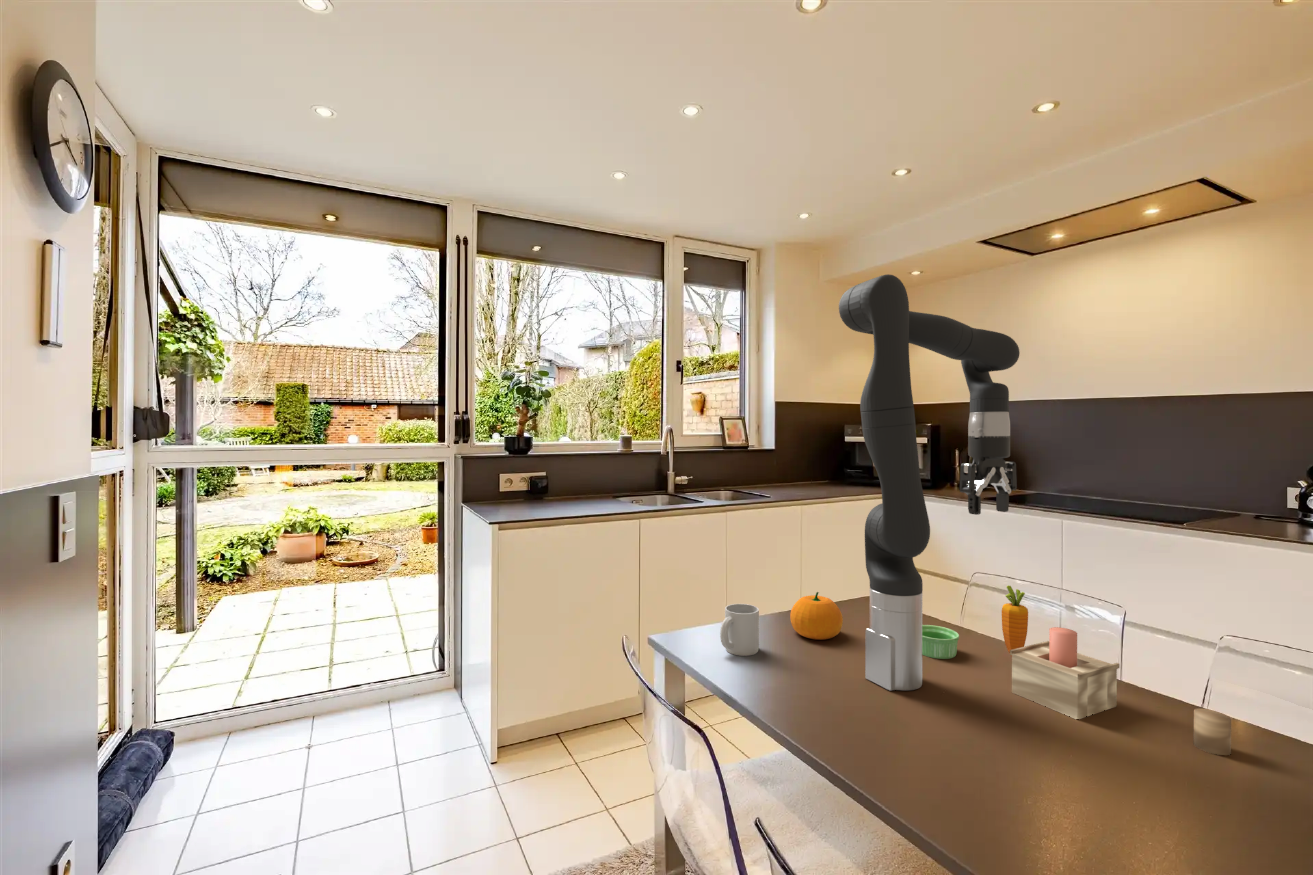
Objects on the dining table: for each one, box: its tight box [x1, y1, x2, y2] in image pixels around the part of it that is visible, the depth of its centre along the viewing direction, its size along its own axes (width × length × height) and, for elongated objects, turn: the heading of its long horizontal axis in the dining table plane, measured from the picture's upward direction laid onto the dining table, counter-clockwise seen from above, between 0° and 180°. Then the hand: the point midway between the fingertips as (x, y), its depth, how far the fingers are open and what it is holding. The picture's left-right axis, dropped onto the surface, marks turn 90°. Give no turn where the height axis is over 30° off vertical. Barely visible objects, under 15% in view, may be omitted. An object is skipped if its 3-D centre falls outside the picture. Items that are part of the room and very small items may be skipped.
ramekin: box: [922, 624, 960, 660], centre depth 124 cm, size 9×9×4 cm
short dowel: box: [1193, 708, 1232, 756], centre depth 87 cm, size 4×4×5 cm
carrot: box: [1001, 585, 1029, 658], centre depth 120 cm, size 5×5×15 cm
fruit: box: [789, 591, 844, 641], centre depth 135 cm, size 12×12×10 cm
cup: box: [719, 603, 760, 657], centre depth 125 cm, size 7×10×9 cm
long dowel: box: [1048, 626, 1078, 668], centre depth 102 cm, size 4×4×12 cm
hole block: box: [1009, 640, 1120, 720], centre depth 102 cm, size 11×12×8 cm
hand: (988, 512), depth 121 cm, fingers open, 8 cm apart
